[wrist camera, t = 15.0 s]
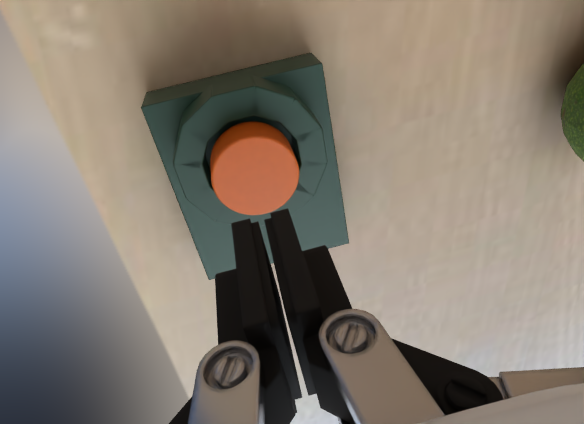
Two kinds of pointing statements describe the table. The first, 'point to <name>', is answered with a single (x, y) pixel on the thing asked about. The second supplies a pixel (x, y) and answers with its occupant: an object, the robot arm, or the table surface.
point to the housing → (238, 109)
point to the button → (253, 168)
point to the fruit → (574, 113)
